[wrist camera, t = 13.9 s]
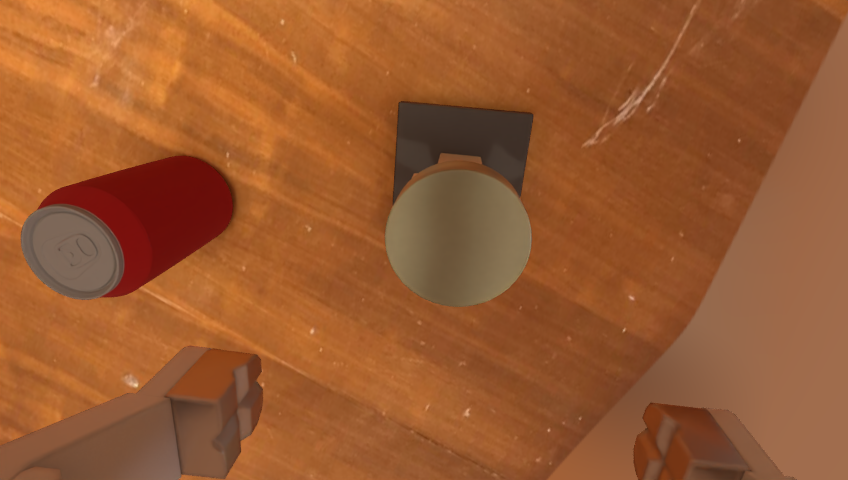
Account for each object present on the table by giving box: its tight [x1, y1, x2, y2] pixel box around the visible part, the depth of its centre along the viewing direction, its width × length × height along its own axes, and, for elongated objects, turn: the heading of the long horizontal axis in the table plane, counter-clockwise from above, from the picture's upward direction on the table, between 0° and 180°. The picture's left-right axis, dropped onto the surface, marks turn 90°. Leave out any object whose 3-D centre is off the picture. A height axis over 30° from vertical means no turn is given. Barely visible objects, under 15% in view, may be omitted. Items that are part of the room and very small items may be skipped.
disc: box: [385, 160, 532, 307], centre depth 19 cm, size 6×6×2 cm
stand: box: [393, 101, 533, 205], centre depth 27 cm, size 9×9×13 cm
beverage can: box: [21, 156, 233, 300], centre depth 29 cm, size 7×7×12 cm
